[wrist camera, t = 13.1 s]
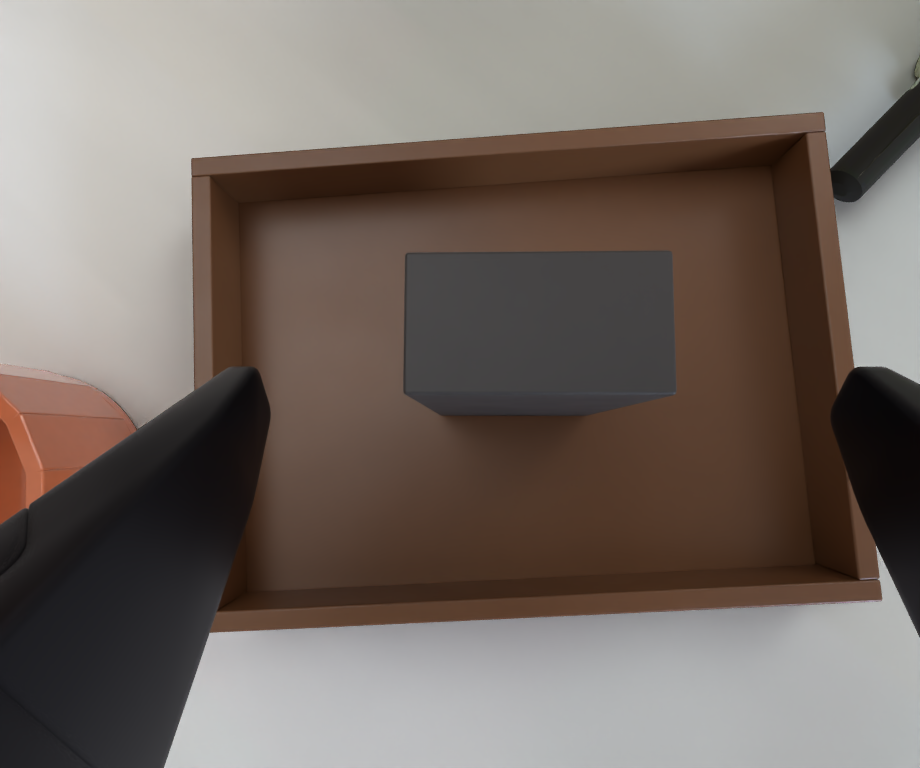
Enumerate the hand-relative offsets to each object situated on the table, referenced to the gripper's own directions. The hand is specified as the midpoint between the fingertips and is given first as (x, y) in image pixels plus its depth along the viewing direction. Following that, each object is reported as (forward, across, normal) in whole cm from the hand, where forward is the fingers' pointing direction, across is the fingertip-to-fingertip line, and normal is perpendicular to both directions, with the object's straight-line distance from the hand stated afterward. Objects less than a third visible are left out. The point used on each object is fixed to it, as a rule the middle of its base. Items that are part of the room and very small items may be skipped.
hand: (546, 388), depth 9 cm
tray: (+8, 0, +7) cm, 11 cm away
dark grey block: (+8, 0, +6) cm, 10 cm away
